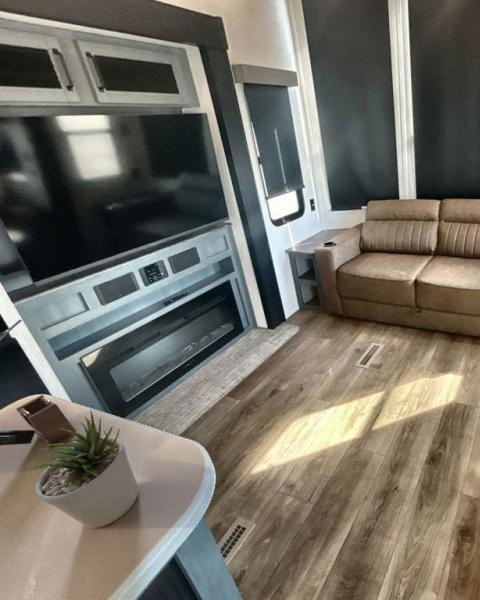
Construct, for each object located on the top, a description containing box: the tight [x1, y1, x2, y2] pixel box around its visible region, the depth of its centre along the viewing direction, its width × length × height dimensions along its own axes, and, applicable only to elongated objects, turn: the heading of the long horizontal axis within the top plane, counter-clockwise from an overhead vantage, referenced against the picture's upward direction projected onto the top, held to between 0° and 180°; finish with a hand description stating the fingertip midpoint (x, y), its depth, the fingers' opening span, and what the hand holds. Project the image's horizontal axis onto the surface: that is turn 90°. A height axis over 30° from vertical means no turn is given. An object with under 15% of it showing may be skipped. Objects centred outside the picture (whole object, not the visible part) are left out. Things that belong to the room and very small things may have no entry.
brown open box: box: [15, 394, 77, 448], centre depth 86 cm, size 8×5×9 cm, turn 61°
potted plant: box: [28, 409, 139, 529], centre depth 64 cm, size 13×14×20 cm
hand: (31, 436), depth 83 cm, fingers closed
